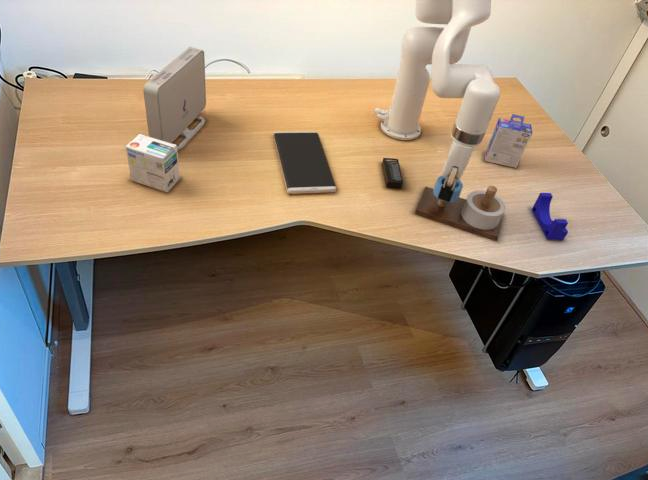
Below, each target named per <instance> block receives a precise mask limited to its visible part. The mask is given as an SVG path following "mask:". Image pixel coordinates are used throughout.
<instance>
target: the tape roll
mask: <svg viewBox="0 0 648 480" xmlns="http://www.w3.org/2000/svg"><path fill="white" fill-rule="evenodd" d="M445 179H446V177H442V176H441V175H440V176H438V177H437V178H436V180H435V185H434V186H433V188H432V189H433V194H434V195H435V197H436V198H438V195H439V193H440V190H441V187H442V185H443V184H444V182H445ZM463 187H464V184H463V181H461V179H460V180H459V181H456V184H455V187H454V192H453V195H452V197H451V200H450V202H455V201H456V200H458V198H459V197H460V195H461V193H462V191H463ZM439 200H441V199H439ZM441 201H444V200H441ZM444 202H447V201H444Z"/></svg>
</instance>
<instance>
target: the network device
mask: <svg viewBox="0 0 648 480" xmlns="http://www.w3.org/2000/svg"><path fill="white" fill-rule="evenodd" d="M205 63H206V61H205V51H204V50H203V49H199V48H196V47H193V46H189V47H188V48H186V49H185V50H184V51H182V52H181V53H180V54H179V55H178V56H176V57H175V58H174V59H172V61H170V62H169V63H168V64H167V65H166V66H164V67H163V68H162V69H161V70H160V71H158V72H157V73H156V74H155V75H154V76H152V78H150V79H149V80H147V82H146V83H145V84H144V85H143V89H142V91H143V99H144V106H145V116H146V123H147V131H148V137H152V138H155V139H158V140H161V141H165V142H169V143H172V144H173V142H174V141H176V139H177V138H178V137H179V136H181V137H185V138H184V139H183V140H182V141H181V142H180V143H179V144H178V145H177V151H179V150H182V149H183V148H184V147H185V146H186V145H187V144H188V142H189V141H191V139H192V138H193V137H194V136H195V135H196V134H197V133H198V132H199V131H200V130H201V128H203V126H204V125H205V124H206V120H205V118H204V117H203V116H202V115H200V114H201V113H202V112H203V111H204V110H205V109H206V106H207V94H206V93H207V90H206V88H207V87H206V64H205ZM194 120H197V121H200V122H199V123H198V124H197V125H196V126H195V128H193V129H189V126H190V125H191V124H192V123H193V122H194Z"/></svg>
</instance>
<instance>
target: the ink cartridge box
mask: <svg viewBox="0 0 648 480" xmlns="http://www.w3.org/2000/svg"><path fill="white" fill-rule="evenodd" d="M514 119H515V120H514ZM516 119H519V120H521V121H519V120H516ZM524 121H525V116H522V115H519V114H513V113H512V114H511V117H510V119H506V118H501V117H498V120H497V121H496V125H495V128H494V130H493V133H492V134H491V137H490V140H489V143H488V145H487V148H486V150H485V152H484V162H487V163H493V164H497V165H500V166H501V165H502V166H505V167H510V168H515V169H516V168H517V167H518V165H519V163H520V162H521V158H522V157H523V154H524V152H525V149H526V148H527V146H528V143H529V142H530V139H531V137H532V135H533V126H532V124H531V123H525V122H524Z"/></svg>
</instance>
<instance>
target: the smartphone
mask: <svg viewBox="0 0 648 480" xmlns="http://www.w3.org/2000/svg"><path fill="white" fill-rule="evenodd" d="M273 139H274V143H275V148H276V151H277V155H278V159H279V164H280V169H281V171H282V177H283V180H284V183H285V188H286V192H287V193H288V194H290V195H292V194H296V195H297V194H318V193H319V194H320V193H322V194H323V193H325V194H326V193H335V192H336V191H337V185H336V183H335V179H334V177H333V173H332V170H331V168H330V165H329V162H328V159H327V156H326V153H325V150H324V147H323V144H322V141H321V138H320V135H319V133H318V132H317V131H275V132H273Z"/></svg>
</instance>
